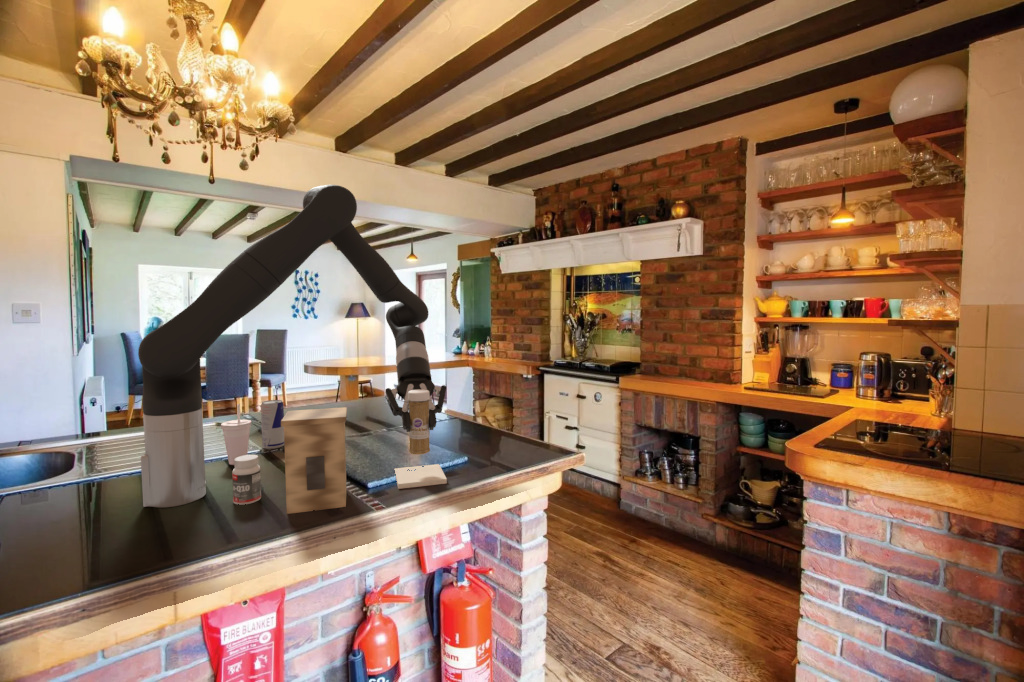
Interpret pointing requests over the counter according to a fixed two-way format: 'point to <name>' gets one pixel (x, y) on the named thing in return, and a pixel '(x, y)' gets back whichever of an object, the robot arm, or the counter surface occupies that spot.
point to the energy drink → (272, 424)
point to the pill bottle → (246, 480)
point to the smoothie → (236, 437)
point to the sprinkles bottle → (419, 421)
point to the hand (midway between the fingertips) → (420, 428)
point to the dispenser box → (315, 459)
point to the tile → (420, 476)
